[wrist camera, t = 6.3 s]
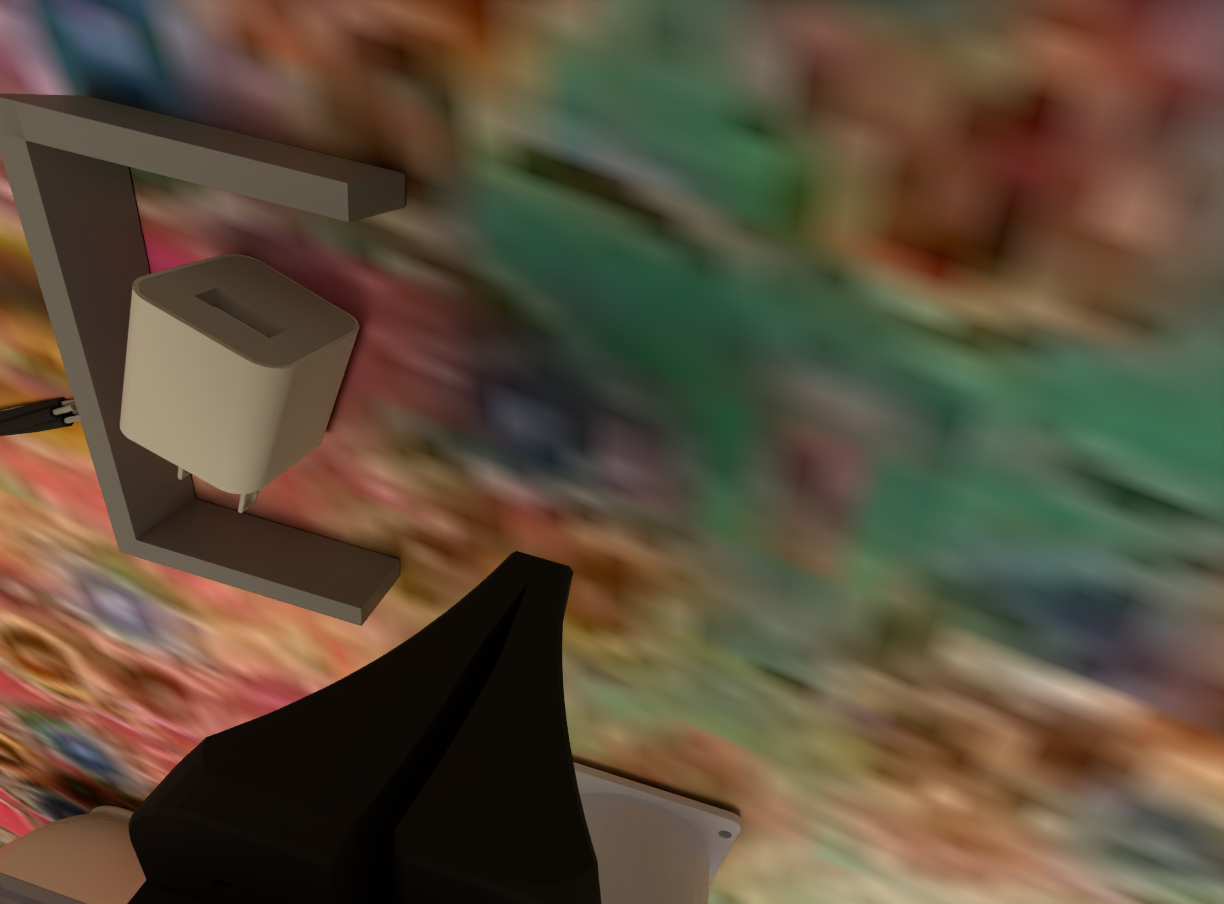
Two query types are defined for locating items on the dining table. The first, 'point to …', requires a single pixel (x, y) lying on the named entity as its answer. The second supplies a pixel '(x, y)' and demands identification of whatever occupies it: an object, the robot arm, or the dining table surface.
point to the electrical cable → (38, 417)
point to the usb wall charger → (231, 370)
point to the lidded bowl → (79, 857)
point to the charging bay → (100, 311)
